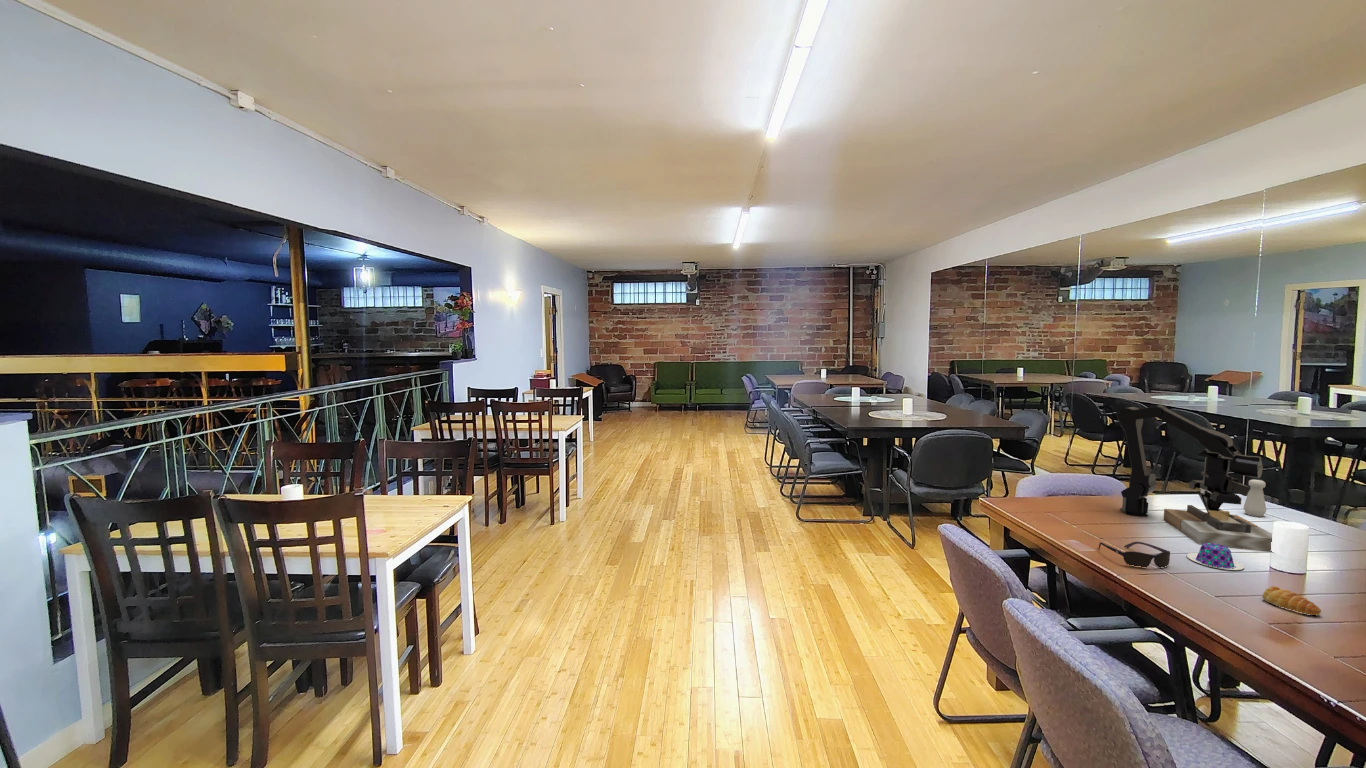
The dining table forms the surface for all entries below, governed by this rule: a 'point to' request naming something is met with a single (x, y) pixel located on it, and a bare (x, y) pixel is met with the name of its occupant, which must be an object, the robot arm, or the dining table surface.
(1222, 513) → the bolt
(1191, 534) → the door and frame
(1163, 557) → the sunglasses
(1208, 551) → the purple patterned hat
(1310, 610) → the pastry
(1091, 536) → the dining table surface
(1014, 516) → the dining table surface
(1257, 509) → the salt shaker
